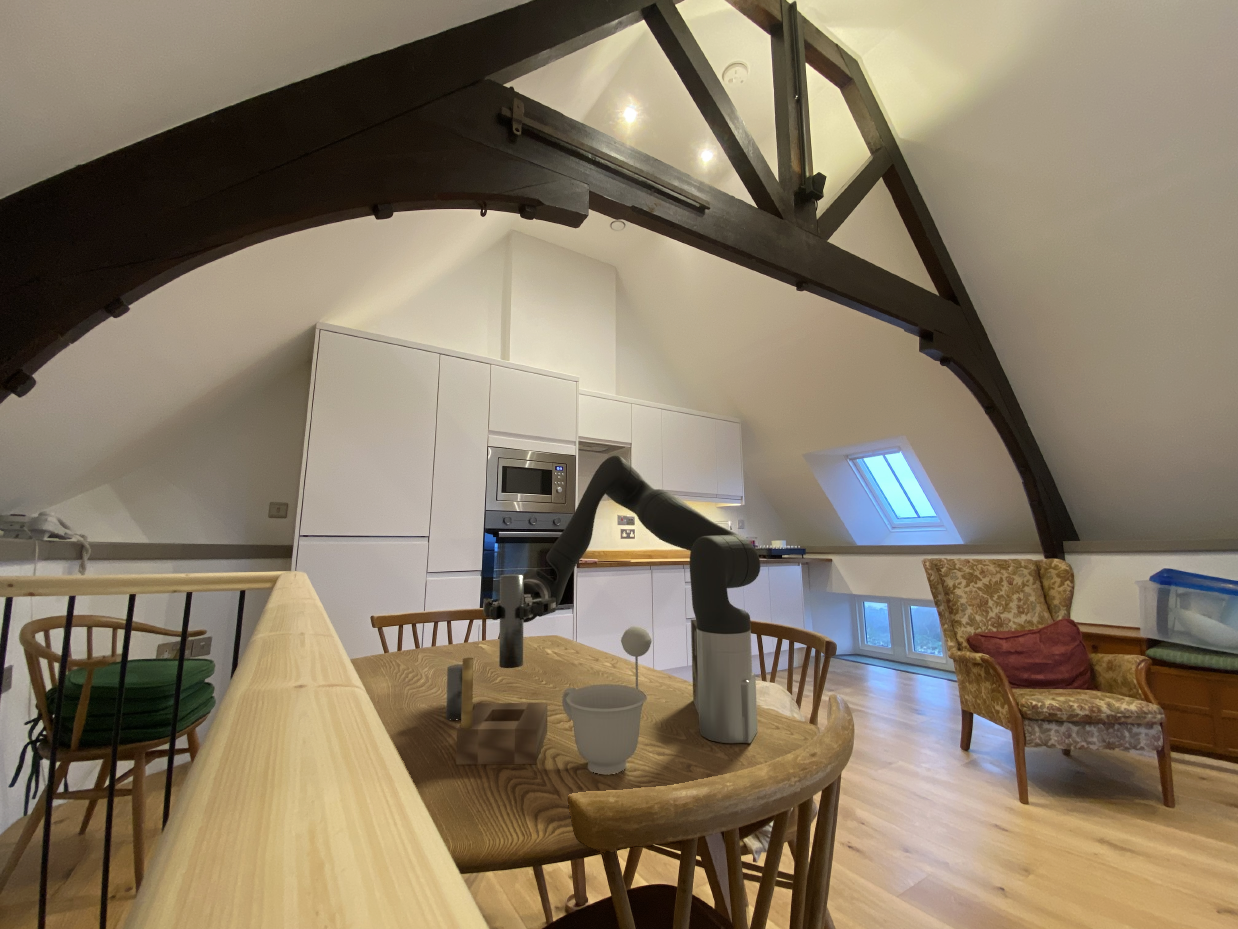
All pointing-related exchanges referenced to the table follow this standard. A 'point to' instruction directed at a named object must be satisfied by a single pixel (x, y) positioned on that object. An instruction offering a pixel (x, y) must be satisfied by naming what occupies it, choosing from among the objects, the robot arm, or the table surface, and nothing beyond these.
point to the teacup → (605, 724)
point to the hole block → (498, 728)
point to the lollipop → (636, 644)
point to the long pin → (511, 621)
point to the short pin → (454, 692)
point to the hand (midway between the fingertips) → (508, 613)
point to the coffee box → (694, 663)
